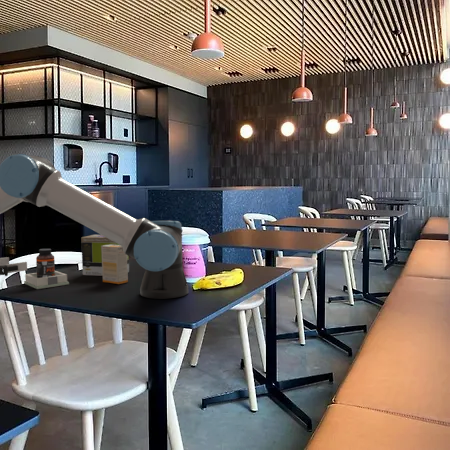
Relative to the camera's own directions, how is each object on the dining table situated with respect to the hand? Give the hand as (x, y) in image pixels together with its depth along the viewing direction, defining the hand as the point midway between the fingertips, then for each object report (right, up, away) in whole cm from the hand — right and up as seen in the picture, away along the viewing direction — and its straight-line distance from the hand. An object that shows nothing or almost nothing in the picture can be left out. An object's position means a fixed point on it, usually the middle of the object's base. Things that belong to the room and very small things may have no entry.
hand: (17, 263), depth 164 cm
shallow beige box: (+7, -8, +8) cm, 13 cm away
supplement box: (+30, -8, +10) cm, 33 cm away
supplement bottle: (+7, -7, +8) cm, 12 cm away
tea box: (+23, -6, +25) cm, 35 cm away
